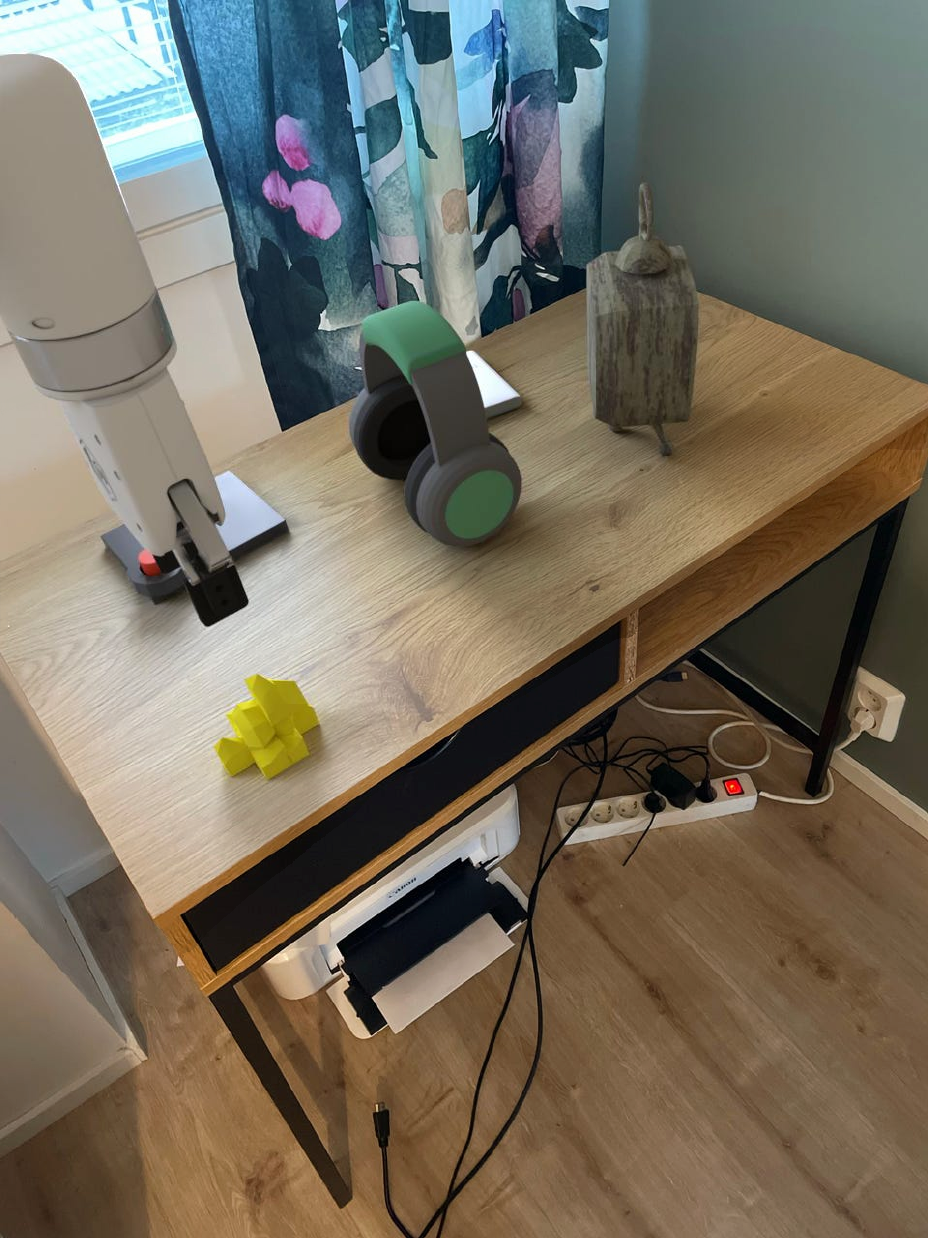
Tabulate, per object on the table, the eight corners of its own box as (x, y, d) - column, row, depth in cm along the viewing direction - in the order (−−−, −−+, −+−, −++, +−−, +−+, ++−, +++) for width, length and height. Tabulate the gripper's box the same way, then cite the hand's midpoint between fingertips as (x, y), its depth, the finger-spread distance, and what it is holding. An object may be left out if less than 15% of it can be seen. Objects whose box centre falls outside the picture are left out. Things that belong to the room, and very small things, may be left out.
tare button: (151, 580, 83) (145, 568, 82) (139, 566, 85) (133, 554, 84) (176, 566, 84) (170, 554, 83) (164, 553, 86) (158, 541, 85)
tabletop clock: (686, 465, 91) (709, 215, 73) (596, 472, 92) (597, 226, 74) (667, 388, 101) (682, 152, 83) (586, 394, 102) (584, 162, 84)
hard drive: (456, 430, 100) (413, 380, 108) (522, 407, 101) (475, 359, 110) (455, 418, 98) (411, 368, 107) (521, 394, 100) (473, 347, 108)
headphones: (352, 474, 96) (309, 296, 82) (441, 437, 99) (415, 260, 85) (434, 573, 84) (401, 384, 69) (534, 528, 87) (521, 338, 72)
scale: (153, 615, 84) (141, 593, 81) (98, 549, 91) (86, 527, 89) (295, 536, 90) (288, 512, 87) (233, 480, 97) (224, 457, 95)
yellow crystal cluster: (211, 747, 72) (179, 685, 66) (297, 696, 75) (274, 633, 69) (242, 795, 68) (212, 734, 63) (332, 740, 71) (310, 676, 66)
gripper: (-22, 310, 50) (104, 550, 63) (84, 435, 40) (209, 692, 53) (104, 263, 53) (200, 503, 66) (234, 369, 43) (317, 629, 55)
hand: (203, 585), depth 59 cm, fingers open, 6 cm apart
